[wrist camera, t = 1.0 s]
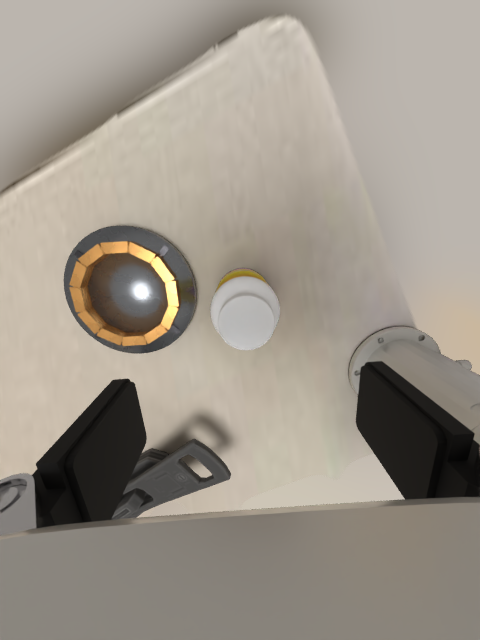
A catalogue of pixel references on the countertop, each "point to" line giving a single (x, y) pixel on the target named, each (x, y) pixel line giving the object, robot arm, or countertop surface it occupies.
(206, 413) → the countertop surface
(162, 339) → the rosette plate
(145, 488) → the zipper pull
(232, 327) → the supplement bottle
